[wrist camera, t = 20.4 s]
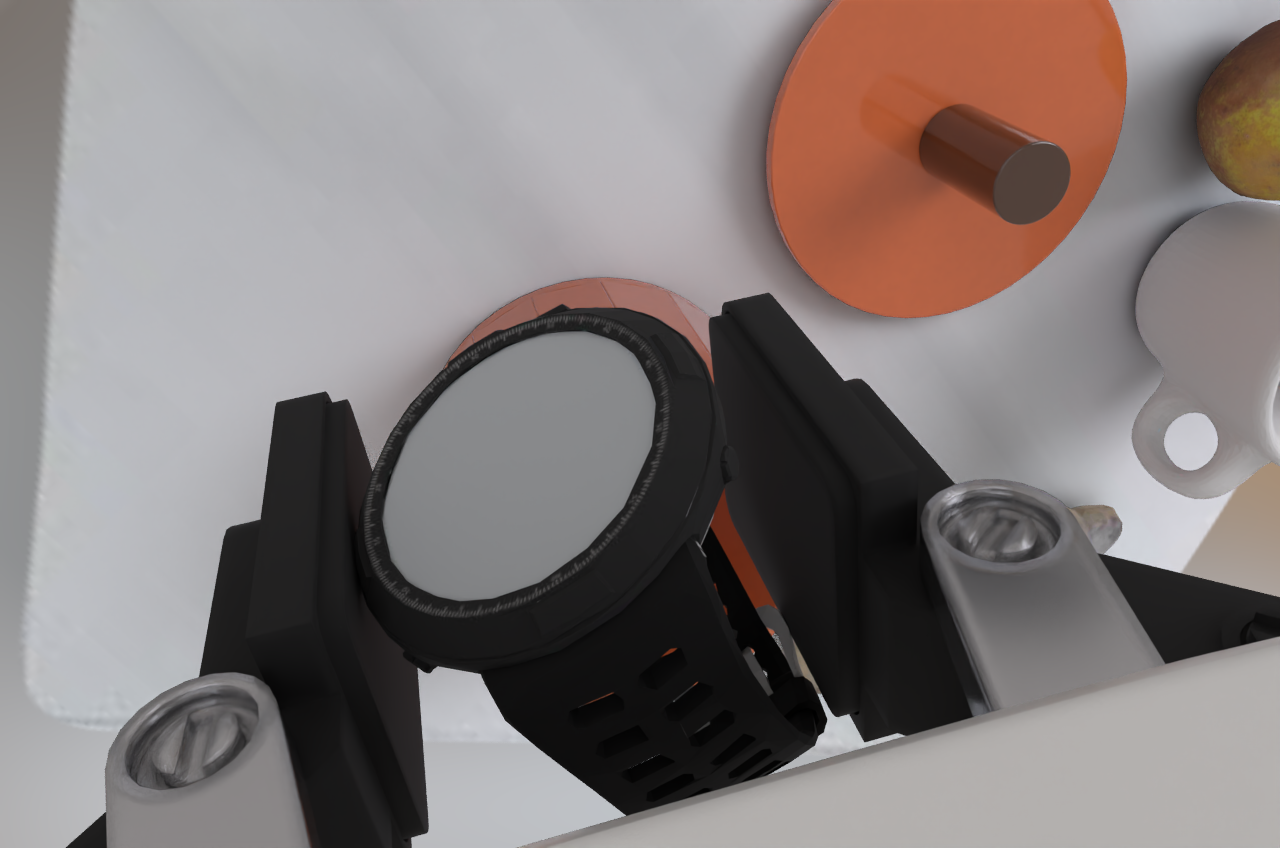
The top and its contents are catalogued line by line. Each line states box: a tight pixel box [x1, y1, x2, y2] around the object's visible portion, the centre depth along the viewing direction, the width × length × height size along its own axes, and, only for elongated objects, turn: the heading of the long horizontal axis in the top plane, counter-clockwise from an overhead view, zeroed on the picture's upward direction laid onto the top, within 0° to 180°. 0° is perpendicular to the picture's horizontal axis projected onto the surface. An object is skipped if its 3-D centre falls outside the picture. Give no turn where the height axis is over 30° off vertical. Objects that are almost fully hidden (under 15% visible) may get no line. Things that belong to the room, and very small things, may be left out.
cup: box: [1132, 201, 1280, 499], centre depth 36 cm, size 11×8×8 cm
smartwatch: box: [354, 304, 827, 816], centre depth 10 cm, size 4×5×5 cm
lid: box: [766, 0, 1127, 318], centre depth 31 cm, size 12×12×6 cm
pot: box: [443, 278, 777, 705], centre depth 33 cm, size 11×11×8 cm
